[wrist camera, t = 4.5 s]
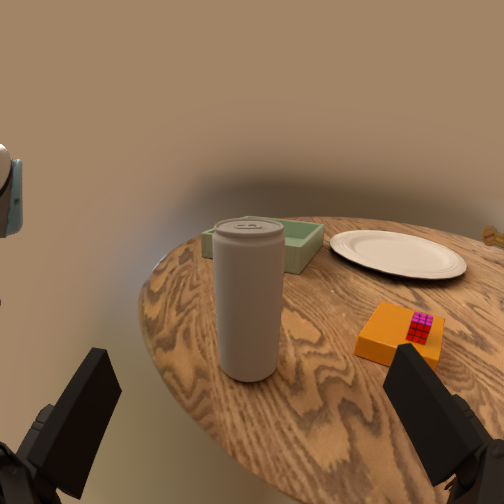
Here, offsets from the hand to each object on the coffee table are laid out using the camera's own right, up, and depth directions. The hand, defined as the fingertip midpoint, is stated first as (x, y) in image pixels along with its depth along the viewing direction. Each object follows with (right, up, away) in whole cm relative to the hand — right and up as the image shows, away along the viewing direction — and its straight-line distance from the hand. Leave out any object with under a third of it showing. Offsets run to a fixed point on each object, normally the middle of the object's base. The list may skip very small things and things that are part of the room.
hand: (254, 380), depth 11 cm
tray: (+3, +6, +41) cm, 42 cm away
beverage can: (0, -4, +11) cm, 12 cm away
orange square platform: (+15, -4, +12) cm, 20 cm away
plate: (+29, +4, +38) cm, 48 cm away
